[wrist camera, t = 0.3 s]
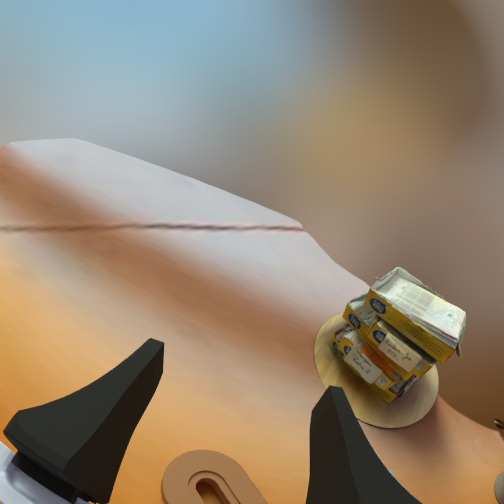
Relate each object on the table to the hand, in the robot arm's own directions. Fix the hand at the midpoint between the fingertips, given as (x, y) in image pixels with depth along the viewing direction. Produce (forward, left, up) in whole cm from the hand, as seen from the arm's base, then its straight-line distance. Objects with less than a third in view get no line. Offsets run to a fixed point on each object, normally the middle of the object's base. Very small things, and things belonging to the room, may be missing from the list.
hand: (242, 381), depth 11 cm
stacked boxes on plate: (+26, -25, -21) cm, 42 cm away
